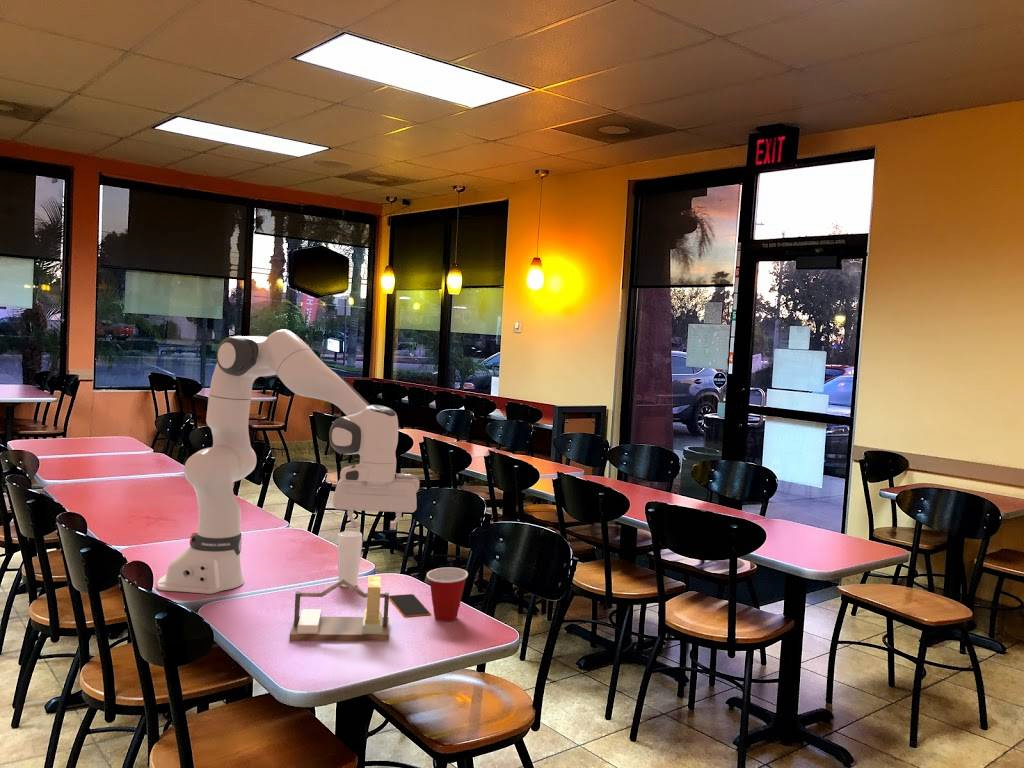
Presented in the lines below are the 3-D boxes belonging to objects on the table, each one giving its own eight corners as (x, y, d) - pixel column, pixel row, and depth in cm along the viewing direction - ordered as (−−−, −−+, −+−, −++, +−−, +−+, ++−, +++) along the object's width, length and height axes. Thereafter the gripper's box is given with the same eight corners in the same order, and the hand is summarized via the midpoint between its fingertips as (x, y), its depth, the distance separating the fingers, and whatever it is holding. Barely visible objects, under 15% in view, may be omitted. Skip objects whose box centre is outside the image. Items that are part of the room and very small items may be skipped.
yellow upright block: (364, 624, 194) (366, 587, 194) (365, 611, 203) (367, 575, 203) (379, 624, 195) (381, 587, 194) (379, 611, 204) (381, 575, 203)
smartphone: (404, 619, 210) (404, 615, 210) (387, 598, 226) (387, 595, 226) (431, 616, 213) (432, 613, 213) (413, 596, 229) (413, 593, 229)
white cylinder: (333, 582, 235) (335, 531, 234) (356, 580, 238) (359, 530, 237) (338, 589, 229) (341, 537, 228) (362, 588, 232) (365, 536, 231)
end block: (362, 633, 193) (362, 625, 193) (363, 617, 204) (363, 609, 204) (381, 633, 194) (382, 625, 194) (382, 617, 205) (382, 609, 205)
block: (297, 633, 191) (297, 625, 191) (302, 617, 202) (302, 609, 202) (317, 633, 192) (317, 625, 192) (321, 617, 203) (321, 609, 203)
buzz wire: (289, 640, 190) (291, 586, 190) (295, 622, 202) (297, 570, 202) (388, 640, 194) (391, 587, 193) (388, 622, 206) (391, 572, 205)
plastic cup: (416, 614, 213) (418, 569, 212) (451, 608, 220) (453, 564, 219) (437, 628, 204) (440, 581, 204) (473, 621, 211) (476, 575, 210)
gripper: (419, 472, 203) (415, 526, 204) (336, 468, 200) (332, 523, 201) (420, 477, 197) (416, 533, 198) (334, 472, 194) (330, 529, 195)
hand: (373, 528), depth 199 cm, fingers open, 8 cm apart
